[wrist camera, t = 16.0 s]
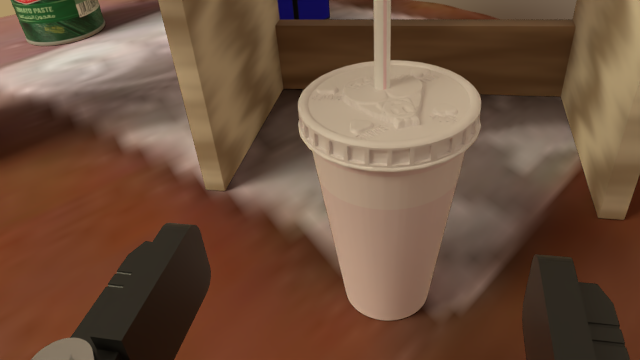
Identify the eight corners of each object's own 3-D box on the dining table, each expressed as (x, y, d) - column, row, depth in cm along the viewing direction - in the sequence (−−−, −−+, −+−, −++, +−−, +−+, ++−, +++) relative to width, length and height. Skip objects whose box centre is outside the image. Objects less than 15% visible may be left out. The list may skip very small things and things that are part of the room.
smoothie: (424, 228, 27) (442, -68, 19) (486, 325, 22) (547, -21, 14) (302, 255, 26) (265, -44, 18) (337, 365, 21) (308, 17, 13)
